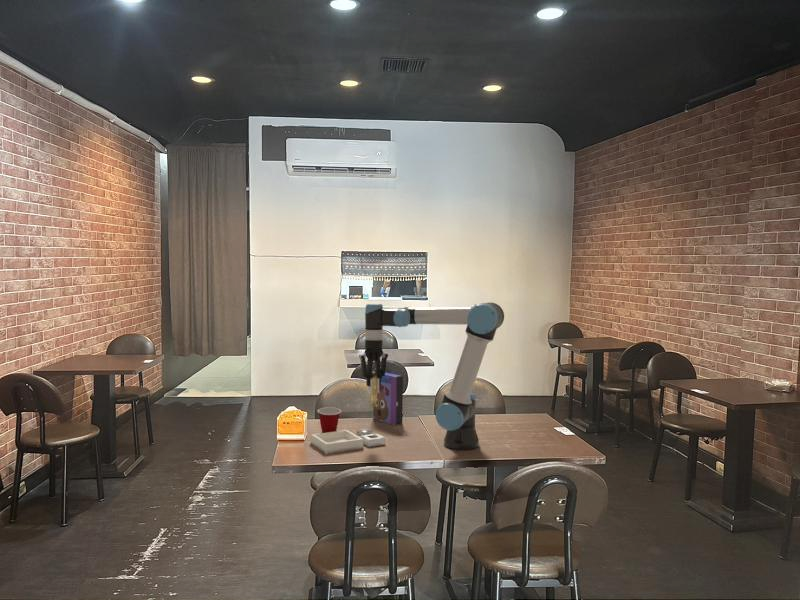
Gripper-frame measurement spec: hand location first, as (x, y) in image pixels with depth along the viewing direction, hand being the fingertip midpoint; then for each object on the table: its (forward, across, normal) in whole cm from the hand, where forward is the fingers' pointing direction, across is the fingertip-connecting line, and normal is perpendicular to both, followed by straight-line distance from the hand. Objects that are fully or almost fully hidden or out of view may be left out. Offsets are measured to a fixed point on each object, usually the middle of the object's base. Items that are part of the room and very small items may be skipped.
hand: (373, 393), depth 267 cm
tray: (+22, +16, -4) cm, 27 cm away
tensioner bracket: (+22, 0, -4) cm, 23 cm away
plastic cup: (+22, +12, -20) cm, 32 cm away
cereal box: (+22, -24, -32) cm, 46 cm away
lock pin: (+5, 0, 0) cm, 5 cm away
